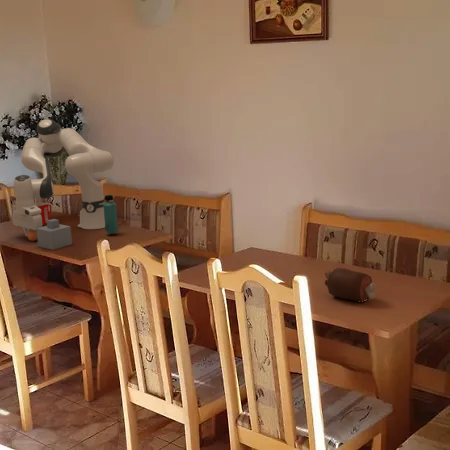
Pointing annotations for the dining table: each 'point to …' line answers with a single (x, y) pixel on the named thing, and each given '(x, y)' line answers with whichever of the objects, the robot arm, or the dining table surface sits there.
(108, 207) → the beverage bottle
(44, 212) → the mug
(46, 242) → the gray lidded box
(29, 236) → the ball
